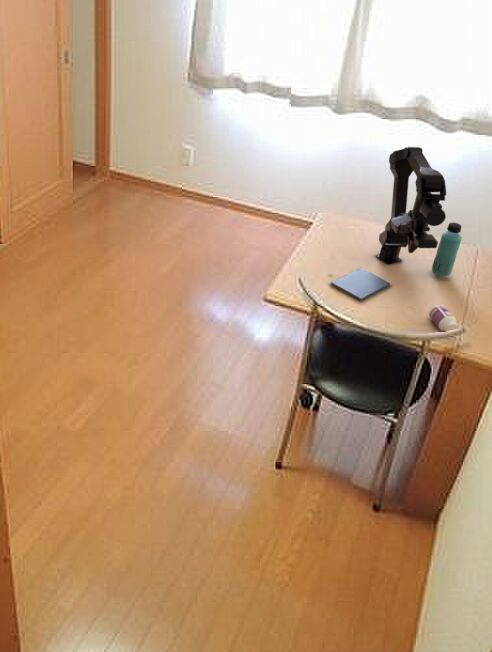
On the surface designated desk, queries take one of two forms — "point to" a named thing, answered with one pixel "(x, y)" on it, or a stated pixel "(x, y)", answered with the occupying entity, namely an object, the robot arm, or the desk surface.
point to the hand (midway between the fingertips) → (410, 252)
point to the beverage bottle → (447, 250)
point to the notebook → (360, 284)
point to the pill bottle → (443, 318)
